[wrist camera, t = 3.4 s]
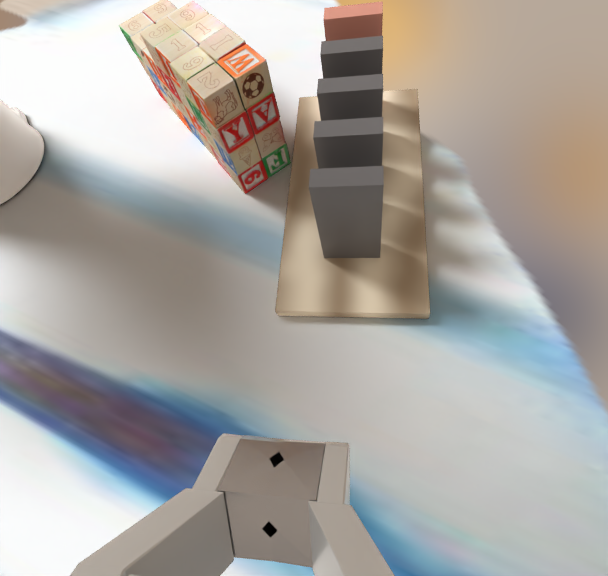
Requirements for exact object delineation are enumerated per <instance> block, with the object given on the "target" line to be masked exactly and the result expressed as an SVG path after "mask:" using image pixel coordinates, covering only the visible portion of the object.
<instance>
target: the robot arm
mask: <svg viewBox="0 0 608 576" xmlns="http://www.w3.org/2000/svg"><path fill="white" fill-rule="evenodd" d="M43 154H44V142H43V138H42V136H41V135H40V133H39V132H38V131H37V130H36V129H34V128H33V127H31V126H30V125H29V124H28V122H27V119H26V116H25V114H24V113H23V112H22V111H20V110H19V109H18V108H16V107H12V108H10V107H9V106H8V105H6V104H5V103H4V102H3V101H2V100H1V99H0V204H2V203H4V202H5V201H7V200H9V199H10V198H11V197H13V196H14V195H15V194H17V193H18V192H19V191H20V190H21V189H22V188H23V187H24V186H25V185H26V184H27V183H28V182H29V181H30V179H31V178H32V177H33V175H34V174H35V172H36V171H37V169H38V167H39V165H40V163H41V161H42V158H43ZM234 557H237V558H247V559H257V560H267V561H276V562H282V563H288V564H294V565H300V566H306V567H312V568H313V572H314V574H315V576H394V574H393V572H392V571H391V569H390V568H389V566H388V564H387V563H386V561H385V559H384V558H383V556H382V555H381V553H380V551H379V550H378V548H377V546H376V545H375V543H374V541H373V540H372V538H371V537H370V535H369V533H368V532H367V530H366V528H365V527H364V525H363V523H362V522H361V520H360V519H359V517H358V515H357V514H356V512H355V510H354V509H353V507H352V506H351V505H350V448H349V444H348V443H339V442H318V441H303V440H289V439H285V440H284V439H277V438H267V437H257V436H247V435H244V436H242V435H233V434H222V435H221V436H220V437H219V438H218V440H217V442H216V444H215V446H214V448H213V450H212V451H211V453H210V455H209V457H208V459H207V461H206V463H205V465H204V467H203V469H202V471H201V473H200V475H199V476H198V478H197V480H196V482H195V484H194V486H193V488H192V489H188V488H185V489H184V490H183V491H181V492H180V493H178V494H177V495H176V496H174V497H173V498H171V499H170V500H168V501H167V502H166V503H164V504H163V505H161V506H160V507H158V508H157V509H156V510H154V511H153V512H151V513H150V514H149V515H147V516H146V517H144V518H143V519H141V520H140V521H139V522H137V523H136V524H134V525H133V526H131V527H130V528H129V529H127V530H126V531H124V532H123V533H121V534H120V535H119V536H117V537H116V538H114V539H113V540H112V541H110V542H109V543H107V544H106V545H104V546H103V547H102V548H100V549H99V550H97V551H96V552H94V553H93V554H92V555H90V556H89V557H87V558H86V559H84V560H83V561H82V562H80V563H79V564H78V565H77V566H76V568H75V569H74V571H73V572H72V574H71V575H70V576H220V575H221V574H222V573H223V572H224V571H225V570H226V568H227V567H228V566H229V565H230V564H231V563H232V562H233V561H234Z"/></svg>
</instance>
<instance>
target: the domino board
mask: <svg viewBox="0 0 608 576" xmlns="http://www.w3.org/2000/svg"><path fill="white" fill-rule="evenodd" d="M382 117H383V154H382V166H383V172H384V187H383V208H382V229H381V251H380V258H324V255H323V251H322V246H321V242H320V237H319V233H318V228H317V223H316V219H315V214H314V210H313V205H312V201H311V196H310V191H309V178H310V169H318V163H317V157H316V151H315V145H314V140H313V133H314V122H315V121H321V118H320V111H319V104H318V97H317V96H315V97H302V98H299V107H298V115H297V124H296V133H295V142H294V150H293V159H292V168H291V177H290V185H289V194H288V203H287V212H286V220H285V229H284V238H283V247H282V255H281V264H280V273H279V282H278V290H277V299H276V308H275V311H276V313H277V315H278V316H319V317H368V318H416V319H428V318H429V315H430V302H429V285H428V267H427V249H426V231H425V213H424V196H423V178H422V160H421V142H420V124H419V108H418V89H409V90H396V91H383V104H382Z"/></svg>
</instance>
